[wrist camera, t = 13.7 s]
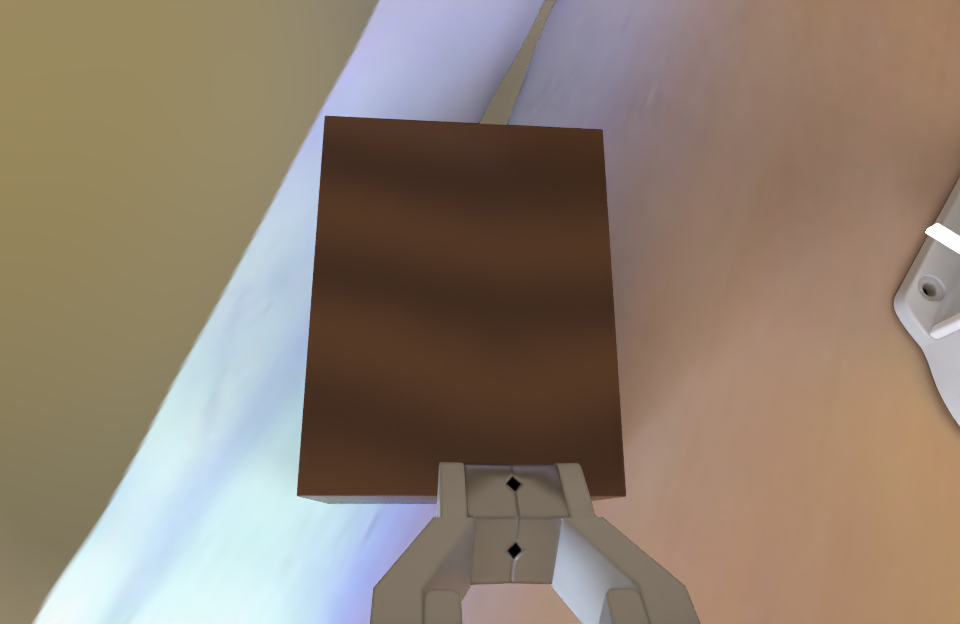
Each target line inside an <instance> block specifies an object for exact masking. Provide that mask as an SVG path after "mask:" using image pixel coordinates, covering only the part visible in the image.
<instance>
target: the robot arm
mask: <svg viewBox="0 0 960 624" xmlns="http://www.w3.org/2000/svg"><path fill="white" fill-rule="evenodd" d="M925 233H927V234H928V236H927V238H926V240H925V242H924V244H923V246H922V247H921V249H920V251H919V253H918V255H917V257H916V258H915V260H914V262H913V264H912V266H911V268H910V269H909V271H908V273H907V275H906V277H905V279H904V281H903V282H902V284H901V286H900V288H899V290H898V292H897V294H896V296H895V298H894V309H895V312H896V314H897V316H898V318H899V319H900V321H901V323H902V324H903V325H904V327H905V328H906V330H907V331H908V332H909V333H910V335H911V336H912V337H913V338H914V340H915V341H916V342H917V343H918V345H919V346H920V347H921V348H922V350H923V352H924V354H925V356H926V359H927V361H928V364H929V367H930V370H931V373H932V375H933V378H934V381H935V384H936V386H937V389H938V391H939V393H940V395H941V397H942V399H943V401H944V403H945V405H946V406H947V408H948V410H949V411H950V413H951V415H952V416H953V418H954V419H955V420H956V422H957V423H958V424H959V426H960V177H959V179H958V181H957V183H956V185H955V187H954V188H953V190H952V192H951V194H950V196H949V198H948V199H947V201H946V203H945V205H944V207H943V209H942V210H941V212H940V214H939V216H938V218H937V220H936V222H935V223H934V225H933V226H931V227H929V228H928V229H927V230H926V232H925ZM923 288H924V289H925V290H926V291H927V293H928V295H926V294H925V293H924V291H923ZM503 583H524V584H552V587H553V588H554V589H555V591H556V592H557V593H558V594H559V596H560V597H561V598H562V599H563V600H564V602H565V603H566V604H567V605H568V607H569V608H570V609H571V610H572V611H573V613H574V614H575V615H576V616H577V618H578V619H579V620H580V621H581V622H582V624H700V621H699V619H698V616H697V614H696V611H695V609H694V606H693V604H692V601H691V599H690V596H689V594H688V591H687V589H686V586H685V585H683V584H682V583H681V582H680V581H679V580H677V579H676V578H675V577H674V576H673V575H671V574H670V573H669V572H668V571H667V570H665V569H664V568H663V567H662V566H661V565H659V564H658V563H657V562H656V561H655V560H653V559H652V558H651V557H650V556H649V555H647V554H646V553H645V552H644V551H643V550H641V549H640V548H639V547H638V546H637V545H635V544H634V543H633V542H632V541H631V540H629V539H628V538H627V537H626V536H625V535H623V534H622V533H621V532H620V531H619V530H617V529H616V528H615V527H614V526H613V525H611V524H610V523H609V522H608V521H607V520H605V519H604V518H603V517H596V515H595V511H594V508H593V505H592V501H591V498H590V495H589V491H588V488H587V485H586V481H585V478H584V475H583V472H582V468H581V466H580V465H579V464H578V463H555V464H503V463H470V462H464V464H463V463H458V462H440V464H439V475H438V494H437V517H433V519H432V520H431V521H430V522H429V523H428V524H427V526H426V527H425V528H424V529H423V530H422V532H421V533H420V534H419V535H418V536H417V537H416V539H415V540H414V541H413V542H412V543H411V544H410V546H409V547H408V548H407V549H406V550H405V552H404V553H403V554H402V555H401V556H400V557H399V559H398V560H397V561H396V562H395V563H394V564H393V566H392V567H391V568H390V569H389V570H388V571H387V573H386V574H385V575H384V576H383V577H382V579H381V580H380V581H379V582H378V583H377V584H376V586H375V587H374V588H373V597H372V608H371V618H370V624H462V611H461V601H462V600H463V598H464V596H465V594H466V593H467V591H468V589H469V588H470V585H475V584H503Z"/></svg>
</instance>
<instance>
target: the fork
mask: <svg viewBox="0 0 960 624" xmlns="http://www.w3.org/2000/svg"><path fill="white" fill-rule="evenodd" d="M555 2H556V0H545V1H544V3H543V5H542V7H541V9H540V11H539V13H538V15H537V17H536V19H535V21H534V23H533V25H532V28H531V30H530V32H529V34H528V36H527V38H526V39H525V41H524V43H523V45H522V47H521V49H520V50H519V52H518V54H517V56H516V58H515V59H514V61H513V63H512V65H511V66H510V68H509V70H508V72H507V73H506V75H505V77H504V78H503V80H502V82H501V84H500V86H499V87H498V89H497V91H496V93H495V95H494V97H493V99H492V100H491V102H490V104H489V106H488V108H487V109H486V111H485V113H484V115H483V117H482V118H481V120H480V122H479V123H480V124H500V125H507V124H508V121H509V118H510V116H511V113H512V110H513V108H514V105H515V102H516V100H517V97H518V95H519V92H520V89H521V87H522V84H523V81H524V78H525V75H526V72H527V69H528V66H529V63H530V61H531V58H532V55H533V52H534V50H535V47H536V44H537V42H538V39H539V37H540V34H541V32H542V29H543V27H544V25H545V22H546V20H547V18H548V15H549V13H550V11H551V9H552V7H553V5H554V3H555Z"/></svg>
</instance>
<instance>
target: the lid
mask: <svg viewBox="0 0 960 624" xmlns="http://www.w3.org/2000/svg"><path fill="white" fill-rule="evenodd" d="M440 462H458V463H463V464H464V462H470V463H503V464H555V463H578V464H579V465H580V466H581V468H582V472H583V475H584V478H585V481H586V485H587V488H588V491H589V495H590V497H625V496H626V488H625V472H624V457H623V441H622V425H621V410H620V394H619V379H618V363H617V347H616V332H615V316H614V300H613V285H612V269H611V253H610V238H609V222H608V207H607V191H606V175H605V160H604V144H603V130H601V129H581V128H561V127H540V126H520V125H500V124H480V123H460V122H440V121H419V120H399V119H379V118H359V117H339V116H325V122H324V135H323V149H322V162H321V176H320V189H319V203H318V217H317V230H316V244H315V257H314V271H313V284H312V298H311V311H310V325H309V338H308V352H307V365H306V379H305V393H304V406H303V420H302V433H301V447H300V460H299V474H298V487H297V496H299V497H437V494H438V475H439V464H440Z"/></svg>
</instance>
